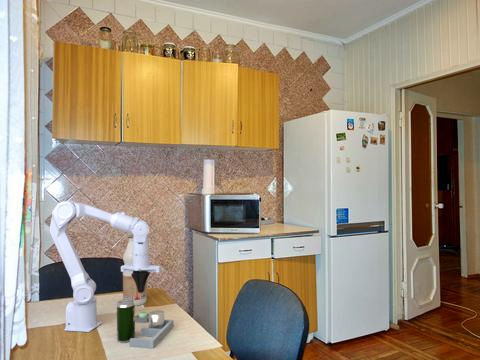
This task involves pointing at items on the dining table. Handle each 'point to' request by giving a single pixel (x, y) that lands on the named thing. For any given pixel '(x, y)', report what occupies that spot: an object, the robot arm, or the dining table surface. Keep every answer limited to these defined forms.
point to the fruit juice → (131, 279)
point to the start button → (143, 315)
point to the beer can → (125, 320)
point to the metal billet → (156, 319)
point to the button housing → (142, 319)
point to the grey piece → (152, 335)
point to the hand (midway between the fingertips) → (141, 291)
